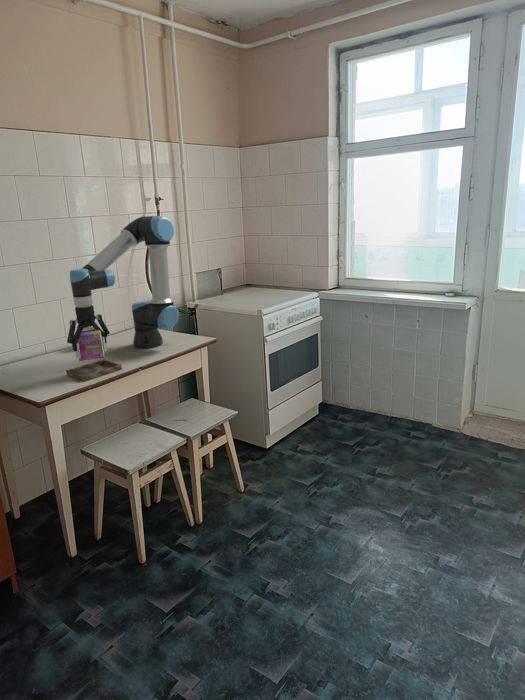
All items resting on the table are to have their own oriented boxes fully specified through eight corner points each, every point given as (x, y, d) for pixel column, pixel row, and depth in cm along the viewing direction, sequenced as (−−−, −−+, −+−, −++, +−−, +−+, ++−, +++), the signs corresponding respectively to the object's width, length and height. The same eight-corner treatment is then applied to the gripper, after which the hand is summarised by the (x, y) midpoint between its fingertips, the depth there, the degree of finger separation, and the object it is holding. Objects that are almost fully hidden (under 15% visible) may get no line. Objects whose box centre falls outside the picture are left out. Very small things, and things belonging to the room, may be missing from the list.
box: (79, 361, 215) (74, 335, 211) (80, 357, 220) (76, 332, 216) (104, 358, 217) (100, 332, 214) (104, 355, 222) (100, 329, 219)
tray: (104, 363, 232) (103, 359, 231) (122, 369, 222) (121, 364, 222) (67, 375, 219) (66, 370, 218) (83, 381, 209) (83, 376, 209)
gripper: (104, 300, 223) (110, 346, 229) (52, 310, 206) (61, 359, 212) (113, 301, 218) (119, 349, 224) (61, 311, 201) (70, 362, 207)
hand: (91, 354), depth 218 cm, fingers closed on box, 12 cm apart
